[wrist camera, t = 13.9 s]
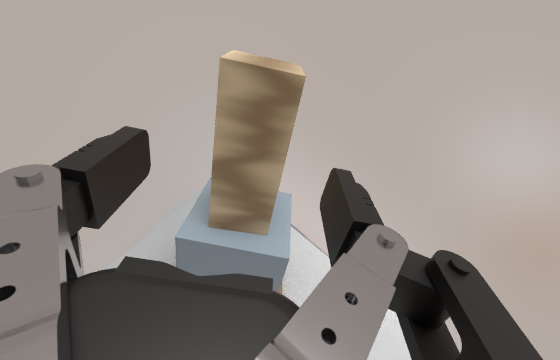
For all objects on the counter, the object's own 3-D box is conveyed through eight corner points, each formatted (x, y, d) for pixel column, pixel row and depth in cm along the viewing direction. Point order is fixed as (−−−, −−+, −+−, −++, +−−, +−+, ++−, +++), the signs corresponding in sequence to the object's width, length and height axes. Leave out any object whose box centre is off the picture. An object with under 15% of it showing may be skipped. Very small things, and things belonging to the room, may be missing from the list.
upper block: (176, 277, 22) (175, 237, 19) (208, 212, 29) (210, 177, 27) (276, 296, 22) (289, 258, 20) (282, 227, 30) (291, 194, 27)
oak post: (208, 227, 21) (219, 57, 14) (219, 192, 25) (233, 49, 18) (267, 235, 21) (305, 76, 15) (268, 200, 25) (299, 64, 19)
